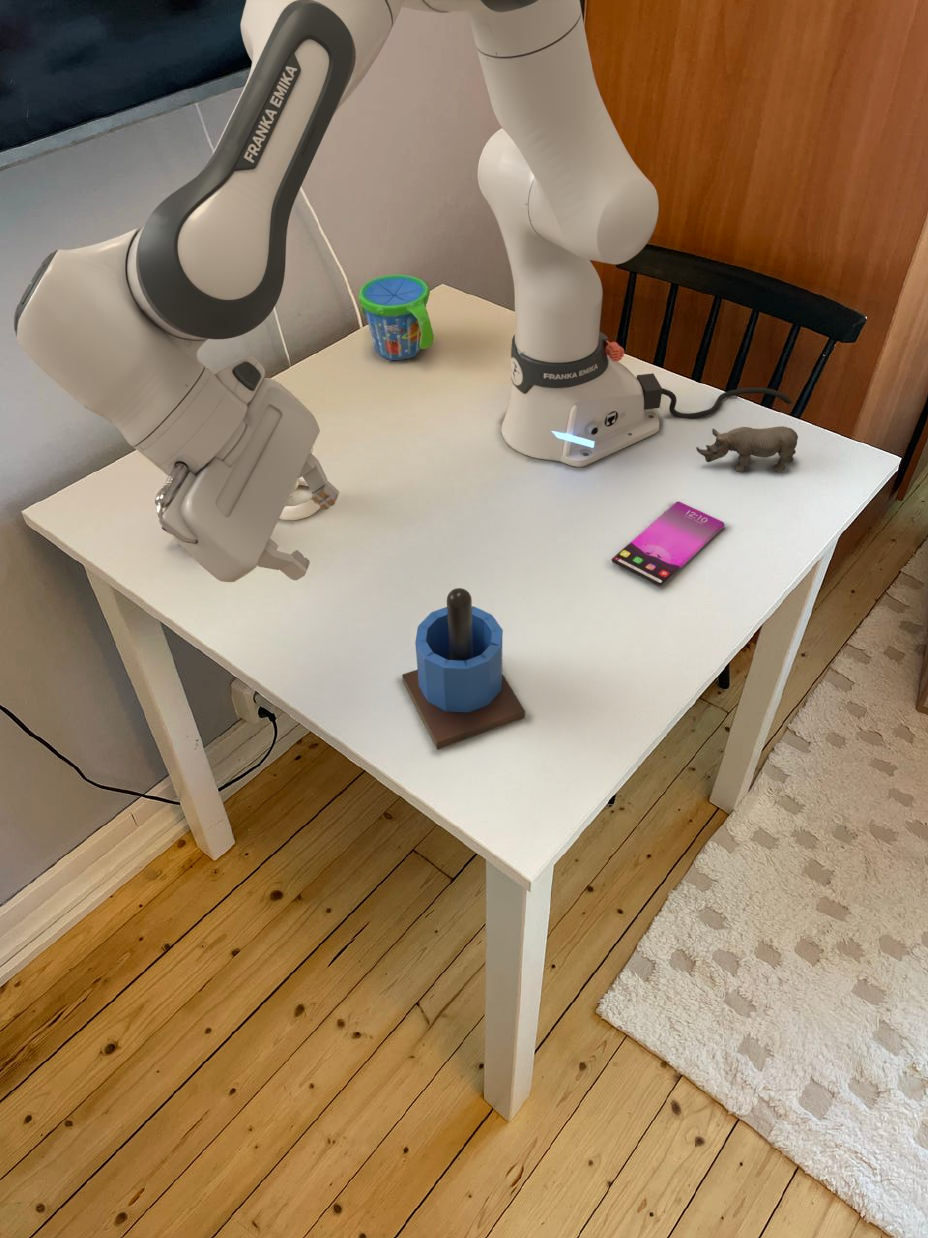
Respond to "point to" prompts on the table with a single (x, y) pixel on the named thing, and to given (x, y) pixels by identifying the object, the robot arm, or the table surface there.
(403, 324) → the snack cup
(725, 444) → the rhino figurine
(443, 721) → the stand
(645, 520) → the table surface
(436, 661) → the tape roll
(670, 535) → the smartphone
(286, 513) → the hook
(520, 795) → the table surface
